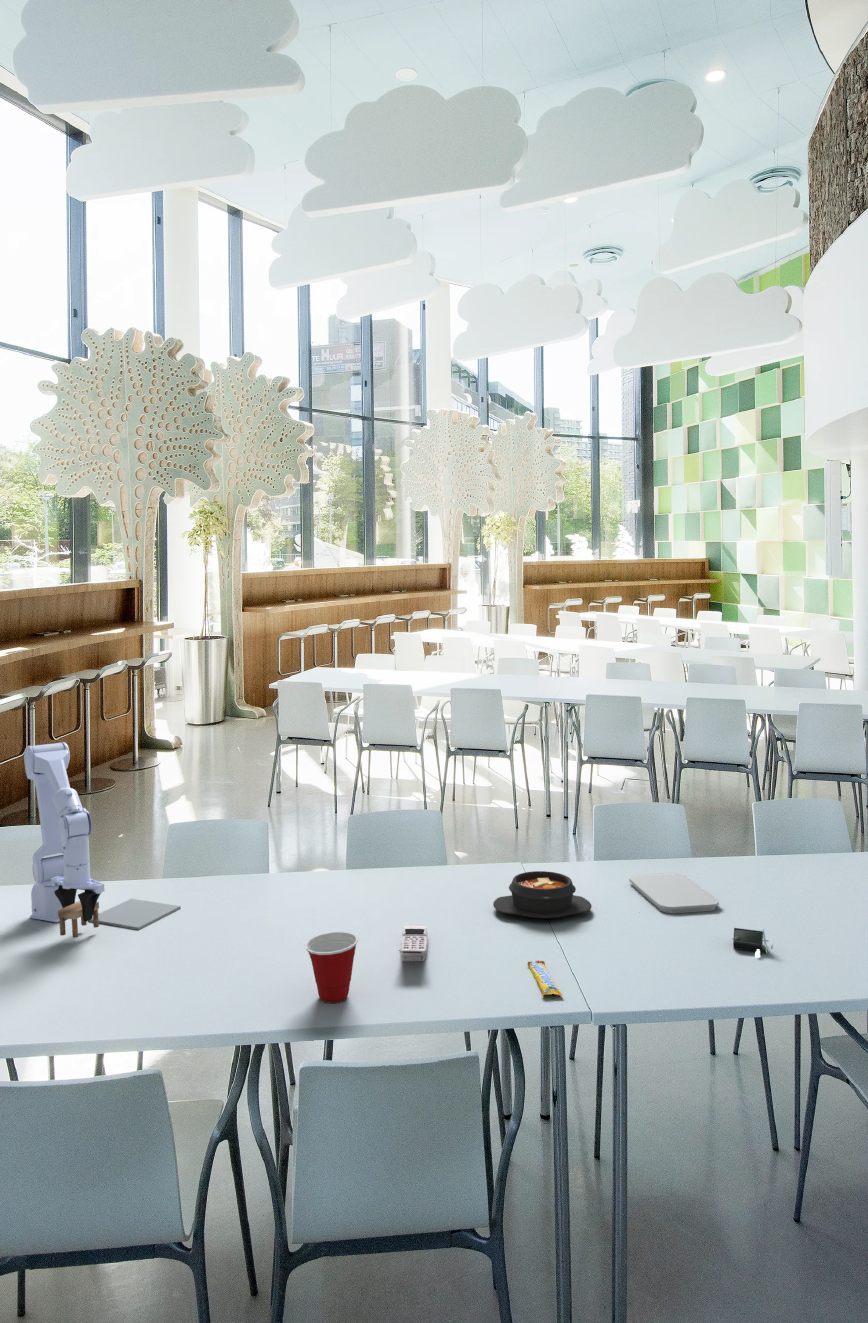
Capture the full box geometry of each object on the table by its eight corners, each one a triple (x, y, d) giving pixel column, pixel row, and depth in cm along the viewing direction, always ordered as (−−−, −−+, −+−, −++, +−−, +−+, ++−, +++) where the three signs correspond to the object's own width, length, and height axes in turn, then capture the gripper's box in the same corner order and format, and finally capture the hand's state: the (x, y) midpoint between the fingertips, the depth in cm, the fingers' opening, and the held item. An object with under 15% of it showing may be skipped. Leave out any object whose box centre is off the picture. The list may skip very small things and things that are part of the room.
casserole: (496, 926, 226) (496, 892, 225) (490, 900, 244) (490, 869, 244) (597, 924, 226) (598, 891, 226) (584, 898, 245) (584, 867, 244)
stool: (59, 935, 218) (57, 910, 217) (83, 923, 225) (82, 899, 225) (75, 938, 216) (74, 913, 215) (99, 926, 223) (98, 902, 223)
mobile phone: (398, 950, 197) (403, 908, 222) (398, 977, 197) (403, 932, 222) (426, 951, 197) (428, 909, 222) (426, 977, 197) (428, 933, 222)
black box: (710, 956, 207) (710, 933, 207) (716, 933, 221) (716, 910, 221) (781, 966, 202) (782, 942, 201) (782, 941, 216) (783, 918, 215)
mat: (87, 921, 231) (87, 918, 231) (131, 900, 246) (131, 898, 246) (138, 930, 225) (138, 927, 225) (180, 908, 240) (180, 906, 240)
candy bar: (526, 967, 202) (526, 959, 202) (544, 966, 203) (544, 958, 203) (542, 1002, 186) (542, 993, 185) (563, 1000, 186) (562, 992, 186)
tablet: (680, 880, 260) (680, 872, 260) (723, 912, 235) (723, 903, 235) (625, 883, 258) (625, 875, 258) (662, 916, 232) (662, 907, 232)
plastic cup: (307, 987, 192) (305, 931, 191) (359, 984, 193) (358, 929, 192) (304, 1011, 182) (302, 951, 181) (359, 1008, 183) (358, 949, 182)
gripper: (40, 864, 218) (43, 920, 219) (88, 871, 213) (90, 928, 214) (63, 856, 225) (65, 910, 226) (109, 862, 219) (111, 918, 220)
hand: (79, 918), depth 220 cm, fingers closed on stool, 5 cm apart
